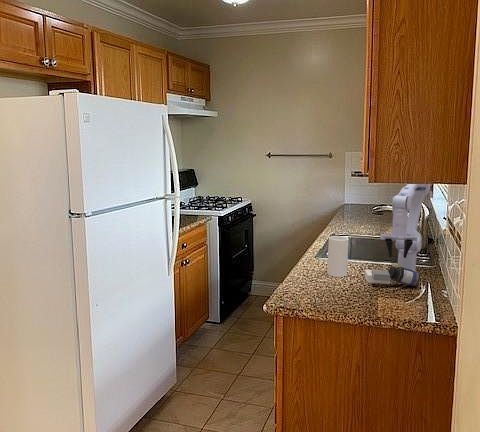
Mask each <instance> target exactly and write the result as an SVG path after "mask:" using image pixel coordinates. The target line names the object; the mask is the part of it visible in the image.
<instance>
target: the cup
mask: <svg viewBox="0 0 480 432" xmlns="http://www.w3.org/2000/svg"><path fill="white" fill-rule="evenodd" d="M327 249H328V250H327V267H326V268H327V269H326V275H327V276H328V277H332V276H333V277H334V278H344V276H345V277H347V276H348V257H349V237H346V236H341V235H331V236H329V237H328V248H327Z"/></svg>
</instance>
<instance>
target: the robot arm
mask: <svg viewBox="0 0 480 432" xmlns="http://www.w3.org/2000/svg"><path fill="white" fill-rule="evenodd" d="M431 185H432V183H431V184H406V183H405V185H404V186H403V187H402V188H401V189H400V191H399V192H398V194H397V195H396V194H395V195H393V196H392V200H391V210H392V226H391V227H392V228H391V233H380V236H379V239H380V240H384V241H385V245H386V247H387V252H388V258H392V254H393V253H392V250H393V241H395V248H396V250H398V255H397V264H401V266H402V267H403V268H407V269H410V270H414V271H417V270H416V266H417V265H416V264H417V253H419V252H420V251H421V249H422V240H423V236H422V235H421V233H420V232H419V231H417V230H418V225H419V220H420V215H421V211H422V205H423V202H424V199H425V196H427V195H429V193H430V190H431Z"/></svg>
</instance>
